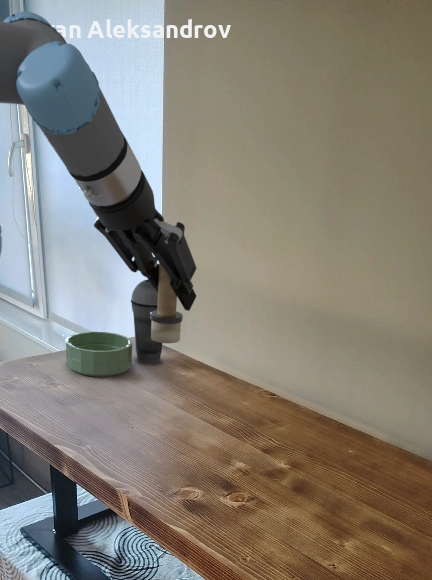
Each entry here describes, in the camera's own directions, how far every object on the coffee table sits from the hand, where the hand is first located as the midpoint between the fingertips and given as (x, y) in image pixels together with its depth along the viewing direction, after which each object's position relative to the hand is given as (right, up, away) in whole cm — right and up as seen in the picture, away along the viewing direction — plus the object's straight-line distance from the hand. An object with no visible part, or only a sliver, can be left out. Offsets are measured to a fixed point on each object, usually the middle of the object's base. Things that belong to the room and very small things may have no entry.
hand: (181, 300), depth 96 cm
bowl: (-17, -6, +23) cm, 29 cm away
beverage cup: (-8, -4, +28) cm, 30 cm away
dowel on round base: (-2, -6, -1) cm, 6 cm away
